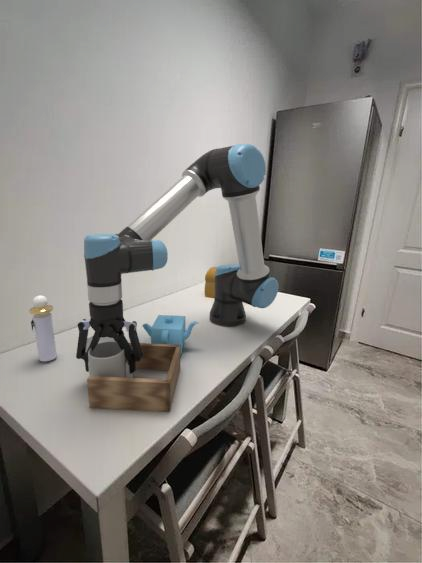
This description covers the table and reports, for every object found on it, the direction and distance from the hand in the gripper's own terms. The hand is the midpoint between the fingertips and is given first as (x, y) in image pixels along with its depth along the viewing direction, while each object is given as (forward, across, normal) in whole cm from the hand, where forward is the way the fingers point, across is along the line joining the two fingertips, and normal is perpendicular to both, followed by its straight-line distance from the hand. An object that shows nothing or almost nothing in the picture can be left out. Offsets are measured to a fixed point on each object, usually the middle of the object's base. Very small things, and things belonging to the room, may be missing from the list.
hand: (111, 382), depth 72 cm
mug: (+1, -1, 0) cm, 1 cm away
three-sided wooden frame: (+1, -7, 0) cm, 7 cm away
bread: (+1, -34, -77) cm, 84 cm away
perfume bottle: (+1, +23, -10) cm, 25 cm away
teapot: (+1, -12, -19) cm, 23 cm away
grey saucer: (+1, +11, -20) cm, 23 cm away
